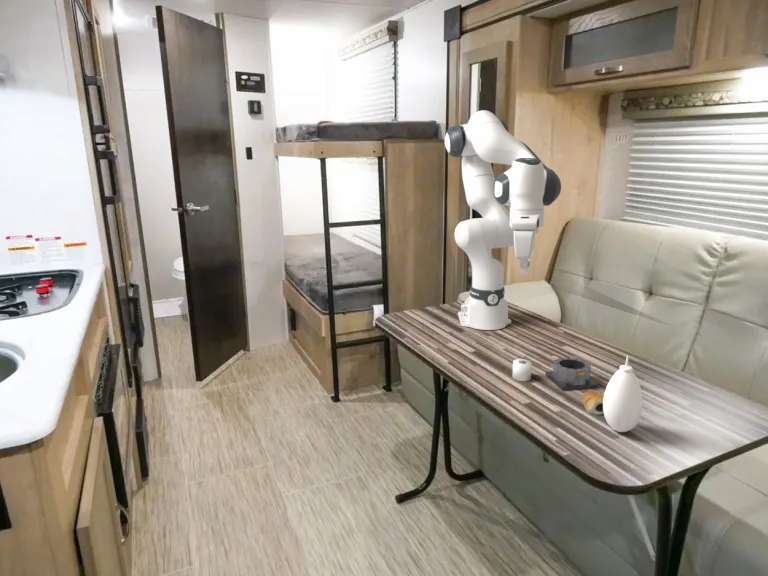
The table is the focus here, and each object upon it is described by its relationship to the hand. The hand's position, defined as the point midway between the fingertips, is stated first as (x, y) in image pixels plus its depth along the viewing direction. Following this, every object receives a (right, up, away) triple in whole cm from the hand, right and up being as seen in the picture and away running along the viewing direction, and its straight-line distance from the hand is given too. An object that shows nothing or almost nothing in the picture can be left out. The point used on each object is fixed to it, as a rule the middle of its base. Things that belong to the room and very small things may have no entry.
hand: (525, 270), depth 143 cm
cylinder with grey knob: (0, -30, +2) cm, 30 cm away
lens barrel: (+12, -30, -1) cm, 33 cm away
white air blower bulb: (+14, -37, -26) cm, 47 cm away
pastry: (+13, -35, -15) cm, 40 cm away
